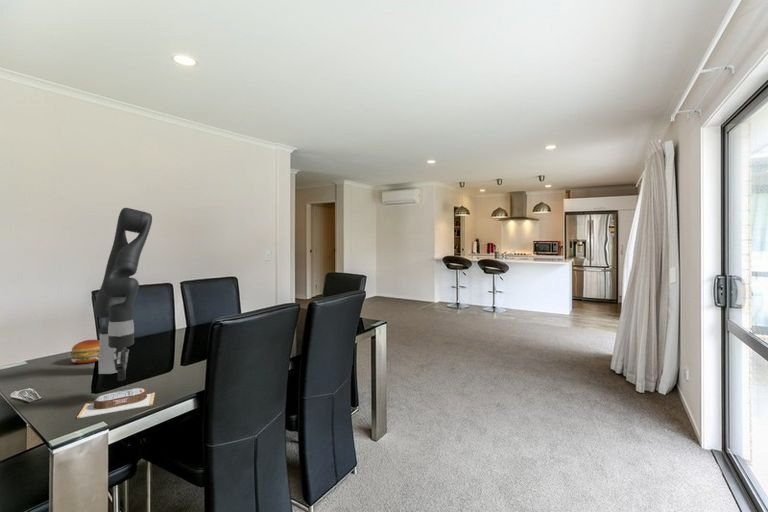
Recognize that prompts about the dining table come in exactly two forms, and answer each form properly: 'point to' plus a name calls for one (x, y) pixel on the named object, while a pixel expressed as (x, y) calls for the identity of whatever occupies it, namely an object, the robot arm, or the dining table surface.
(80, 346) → the burger
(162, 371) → the dining table surface
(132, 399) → the tin
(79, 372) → the dining table surface
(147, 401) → the mat
